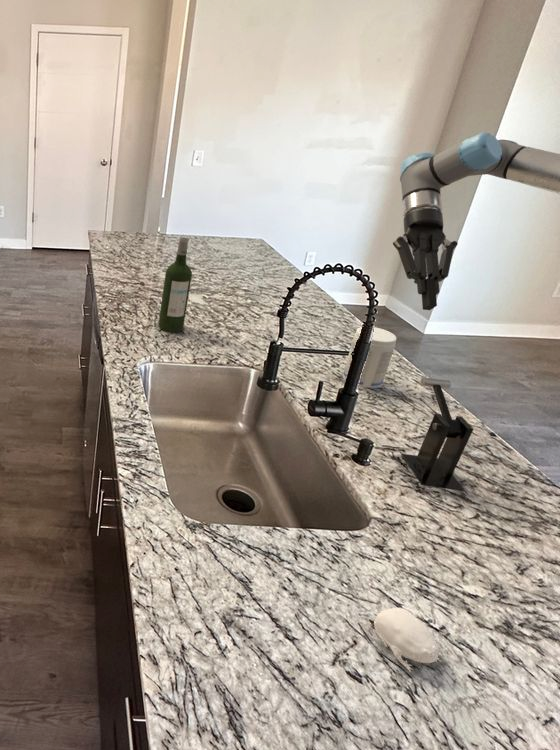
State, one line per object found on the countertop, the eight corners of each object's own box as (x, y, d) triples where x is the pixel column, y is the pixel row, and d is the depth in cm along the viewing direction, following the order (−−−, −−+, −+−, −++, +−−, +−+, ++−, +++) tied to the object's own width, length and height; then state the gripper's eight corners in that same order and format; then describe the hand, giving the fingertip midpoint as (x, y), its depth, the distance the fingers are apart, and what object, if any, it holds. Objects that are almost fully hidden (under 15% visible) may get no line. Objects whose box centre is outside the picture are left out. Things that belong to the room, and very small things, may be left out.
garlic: (447, 664, 75) (457, 646, 74) (409, 676, 73) (419, 659, 72) (398, 613, 82) (406, 597, 80) (363, 624, 80) (371, 607, 79)
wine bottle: (174, 320, 178) (188, 232, 165) (187, 331, 171) (203, 239, 158) (153, 323, 176) (166, 233, 163) (165, 333, 169) (179, 241, 156)
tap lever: (418, 381, 115) (424, 374, 113) (444, 384, 114) (450, 377, 113) (435, 435, 107) (442, 429, 105) (463, 439, 106) (470, 433, 104)
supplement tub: (373, 375, 149) (390, 328, 143) (386, 393, 141) (404, 343, 135) (336, 371, 151) (351, 324, 144) (347, 388, 142) (363, 339, 136)
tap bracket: (399, 457, 117) (420, 404, 111) (439, 463, 116) (463, 409, 110) (419, 489, 108) (444, 433, 102) (462, 495, 107) (490, 439, 101)
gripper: (443, 226, 129) (451, 317, 121) (384, 221, 131) (389, 310, 123) (462, 208, 122) (473, 304, 114) (400, 204, 124) (406, 297, 116)
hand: (429, 307), depth 119 cm, fingers closed
